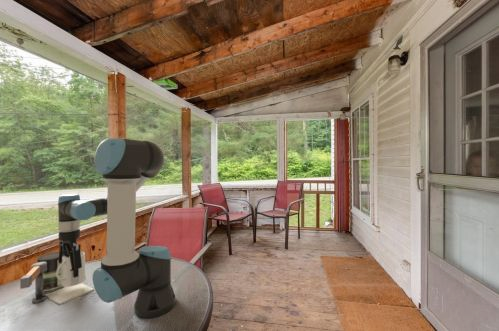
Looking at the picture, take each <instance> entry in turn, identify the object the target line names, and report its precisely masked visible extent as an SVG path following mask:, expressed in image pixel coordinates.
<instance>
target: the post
mask: <svg viewBox="0 0 499 331" xmlns="http://www.w3.org/2000/svg"><path fill="white" fill-rule="evenodd" d="M34 282H35V285H34V287H35V294H34V295H35V297H34V298H32V300H31V302H32V304H39V303H42V302H44V301H46V299H47V297H46V296H45V295H46V294H45V295H44V291H43V272H42V273H40V274H39V275H38V276H37V277H36V278H35V279H34Z"/></svg>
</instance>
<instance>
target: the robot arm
mask: <svg viewBox="0 0 499 331" xmlns="http://www.w3.org/2000/svg"><path fill="white" fill-rule="evenodd" d="M164 155H165V154H164V152H163V150H162V149H161V147H160V146H159V145H157V144H156V143H154V142H152V141H149V140H140V139H139V140H138V139H130V138H129V139H128V138H122V137H119V138H116V137H115V138H113V137H110V138H106V139H103V141H101V142H100V143H99V145H98V146H97V148H96V151H95V154H94V162H93V163H94V166H95V170H96V171H97V173H99V174H101V175H102V176H101V177H102V180H103V181H104V182H105V183H107V196H106V197H102V198H92V199H86V200H85V199H84V200H81V198H80V197H81V196H80V194H78V193H69V194H67V193H66V194H61V195H59V196H58V199H57V200H58V201H57V202H58V203H57V205H58V206H57V208H58V210H57V213H58V215H57V216H58V221H57V223H58V224H57V225H58V226H57V227H58V228H57V229H58V231H59V232H58V241H59V242H58V243H59V244H58V245H59V249H58V252H59V261H58V262H59V263H60V264H61V263H62V257H63V256H66V257H68V258H69V257H70V262H71V267H72V269H71V270H70V271H71V286H72V285H75V284H77V283H79V268H82V263H81V252H82V251H81V244H77V239H79V238H80V237H81V229H80V227H81V222H82V221H88V220H90V219H91V218H94V217H95V218H96V217H99V216H106V254H105V255H104V256H103V257H102V258H101V260H100V267H98V268H96V269H95V270H94V271H93V273H92V284H93V287H94V288H93V289H94V291H95V292H96V295H97V296H98V298H99V299H100V300H101V301H103V302H104V303H113V302H115V301H118V300H121V299H122V298H124V297H126V296H128V295H131V294H132V293H134V292H136V291H138V293H137V295H136V299H135V302H134V304H133V312H134V314H135V316H136V317H138V318H143V319H152V318H156V317H160V316H162V315H163V316H164V315H165V314H167V313H169V312H170V311H171V310H173V309H174V307H175V305H176V294H175V292H174V289H173V286H172V284H171V283H172V280H171V279H172V278H171V277H172V276H171V275H172V274H171V273H172V272H171V271H172V270H171V264H172V263H171V262H172V260H171V259H172V257H171V250H170V248H168V246H164V245H163V246H162V245H146V246H143V247H140V248H139V249H138V251H136V249H135V248H136V247H135V246H136V209H137V208H136V207H137V206H136V205H137V192H138V191H139V189H141V187H143V186H144V184H146V182H147V181H148V180H149V179H152V178H155V177H156V176H157V175H158V174H159V173H160V171H161V170H162V168H163V166H164V163H165V156H164ZM61 278H63V275H62V266H61Z"/></svg>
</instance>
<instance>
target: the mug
mask: <svg viewBox="0 0 499 331" xmlns="http://www.w3.org/2000/svg"><path fill="white" fill-rule="evenodd" d="M80 252H81V263H82V268H79V283H77V284H75V285H78V284H80V283H83V282H85V281H86V279H87V278H86V253H85V252H84V251H80ZM61 266H62V275H63V278H59V276H58V271H59V269H60V267H61ZM71 269H72V267H71V262H70V257H69V258H68V257H66V256H63V257H62V263H61V264H60V265H59V267H58V269H57V271H56V277H57V279H59V280H61V281H62V286H61V287H64V288H65V287H69V286H71V271H70V270H71ZM75 285H72V286H75Z"/></svg>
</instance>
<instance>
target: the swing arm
mask: <svg viewBox="0 0 499 331" xmlns="http://www.w3.org/2000/svg"><path fill="white" fill-rule="evenodd" d="M46 270H47V262H39V263H38V262H35V263H33V264H31V265H30V270H29V271H28V272H27V274H25V275H22V277H21V278H20V279H19V281H20V285H19V286H20V290H21V289H27V288H30V287H31V286H32V285H33V284H32V283H33V282H35V278H36V277H37V276H38V275H39V274H40V273H42V272H45V271H46Z"/></svg>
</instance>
